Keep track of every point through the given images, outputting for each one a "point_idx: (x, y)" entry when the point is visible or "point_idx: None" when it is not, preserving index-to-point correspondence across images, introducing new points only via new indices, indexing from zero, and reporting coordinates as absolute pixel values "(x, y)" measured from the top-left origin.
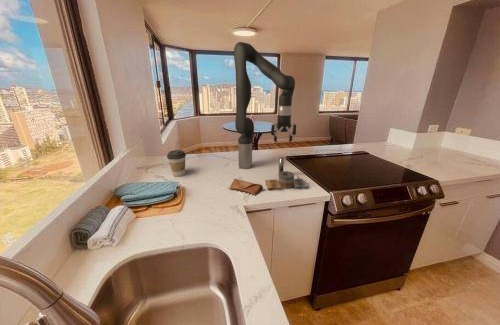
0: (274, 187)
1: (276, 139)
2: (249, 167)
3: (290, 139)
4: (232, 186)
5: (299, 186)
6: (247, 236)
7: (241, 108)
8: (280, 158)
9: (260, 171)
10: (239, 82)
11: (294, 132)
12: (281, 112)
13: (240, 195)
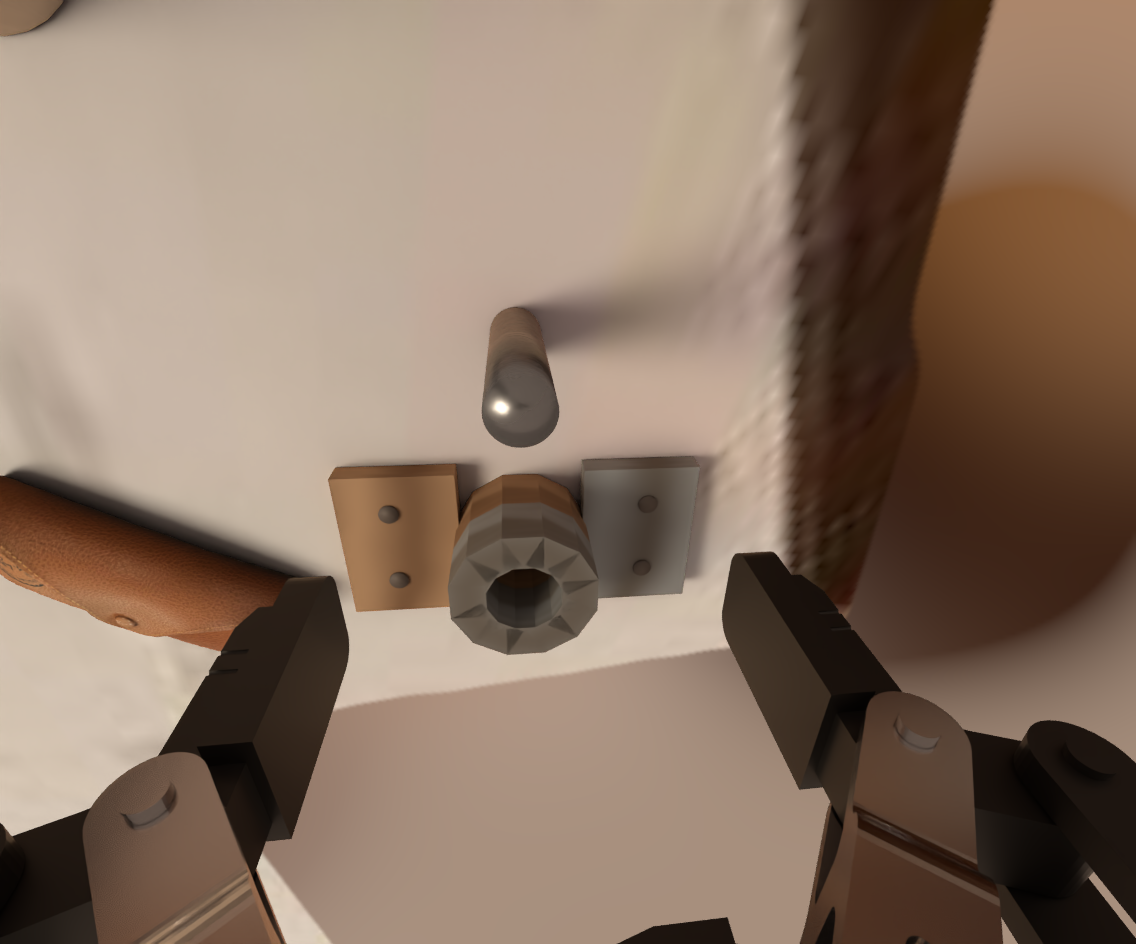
0: (411, 605)
1: (313, 731)
2: (38, 11)
3: (760, 684)
4: (18, 580)
5: (615, 596)
6: (272, 887)
7: None
8: (495, 438)
9: (259, 168)
10: None
11: (1035, 927)
12: None
13: (147, 651)
